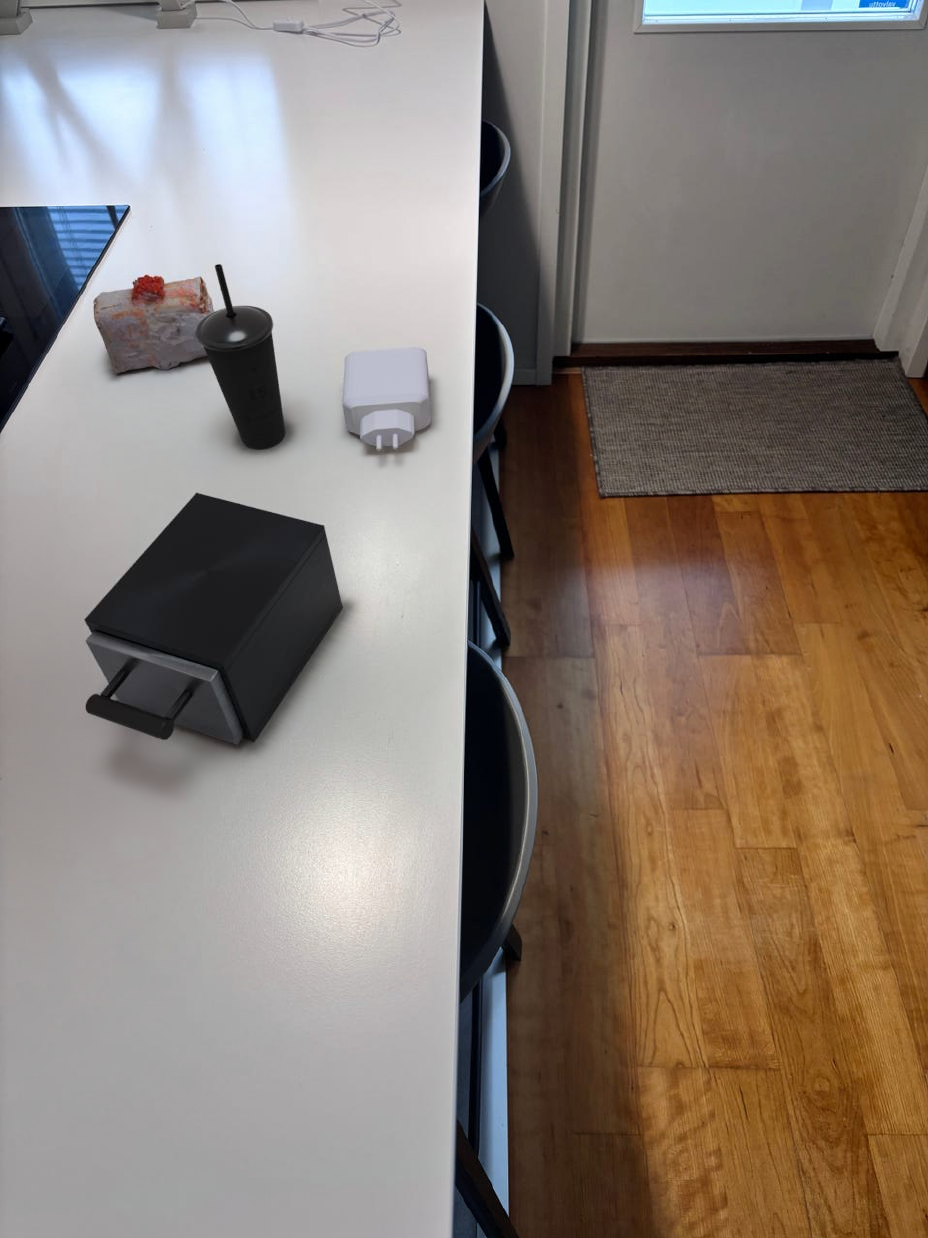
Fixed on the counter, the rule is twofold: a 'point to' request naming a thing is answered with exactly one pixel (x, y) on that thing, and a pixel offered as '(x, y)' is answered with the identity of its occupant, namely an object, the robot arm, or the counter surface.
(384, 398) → the charger
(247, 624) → the cabinet
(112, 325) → the food item
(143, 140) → the counter surface
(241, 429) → the drinking cup
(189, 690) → the drawer
